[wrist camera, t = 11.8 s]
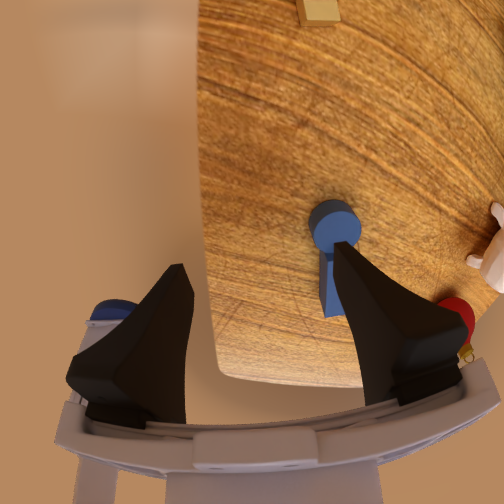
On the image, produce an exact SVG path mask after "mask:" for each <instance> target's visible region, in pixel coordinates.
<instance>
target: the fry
mask: <svg viewBox="0 0 504 504" xmlns="http://www.w3.org/2000/svg"><path fill="white" fill-rule="evenodd" d="M295 1H296V6H297V11H298V16H299V21H300V26H333V25H334V24H336V23H338V22H340V21H341V19H340V13H339V8H338V3H337V0H295Z"/></svg>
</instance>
